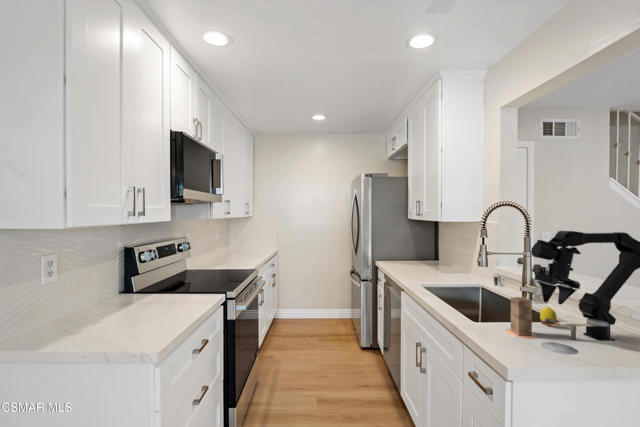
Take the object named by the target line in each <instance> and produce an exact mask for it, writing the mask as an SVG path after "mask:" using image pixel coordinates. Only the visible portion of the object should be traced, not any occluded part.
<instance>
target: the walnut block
mask: <svg viewBox="0 0 640 427" xmlns="http://www.w3.org/2000/svg"><path fill="white" fill-rule="evenodd" d="M532 303H533V302H532V300H531V299H528V298H526V297H521V296H520V297H519V296H518V297H517V296H513V297H512V296H511V297H510V329H511V332H513V333H515V334H516V335H518V336H532V333H533V330H532V329H533V322H532V320H533V318H532V317H533V316H532V314H533V312H532V310H533V309H532V308H533V306H532V305H533V304H532Z"/></svg>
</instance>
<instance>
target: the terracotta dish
mask: <svg viewBox="0 0 640 427" xmlns="http://www.w3.org/2000/svg"><path fill="white" fill-rule="evenodd" d="M505 333H506V334H507V335H509V336H511V337H515V338H519V339H525V340H526V339H527V340H534V339H537V338H538V335H537V334H535V333H534V332H532V336H518V335H516V334H515V333H513V332H511V328H509V329H506V330H505Z"/></svg>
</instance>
